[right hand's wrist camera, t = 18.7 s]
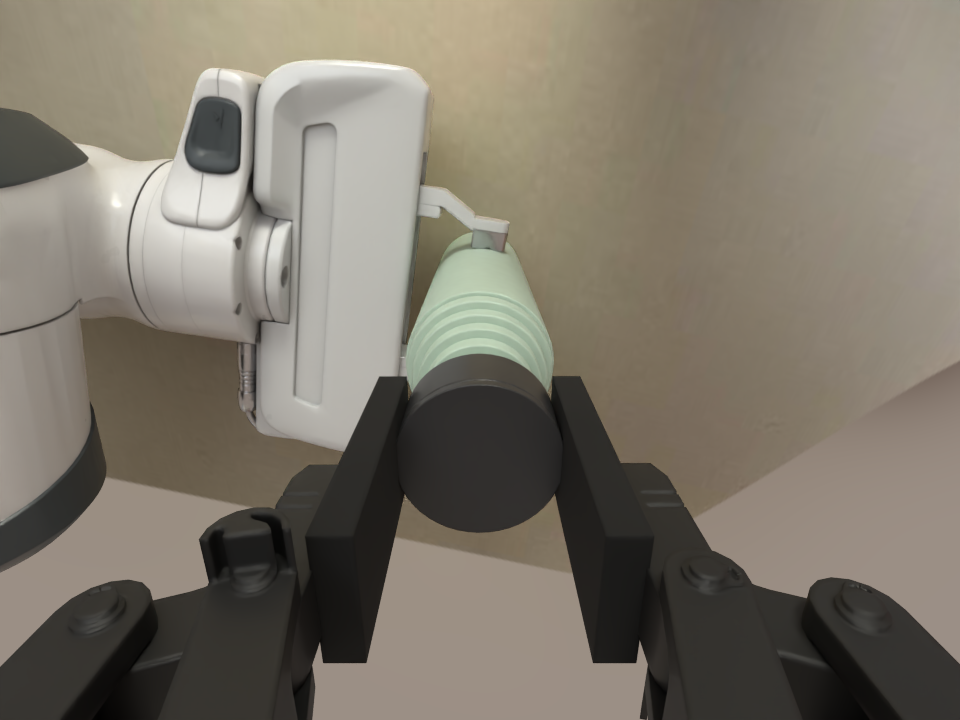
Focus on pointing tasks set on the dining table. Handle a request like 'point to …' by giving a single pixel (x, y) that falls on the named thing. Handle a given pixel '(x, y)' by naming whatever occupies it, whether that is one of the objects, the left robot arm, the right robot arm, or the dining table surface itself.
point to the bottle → (479, 314)
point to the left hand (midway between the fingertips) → (496, 297)
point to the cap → (479, 444)
